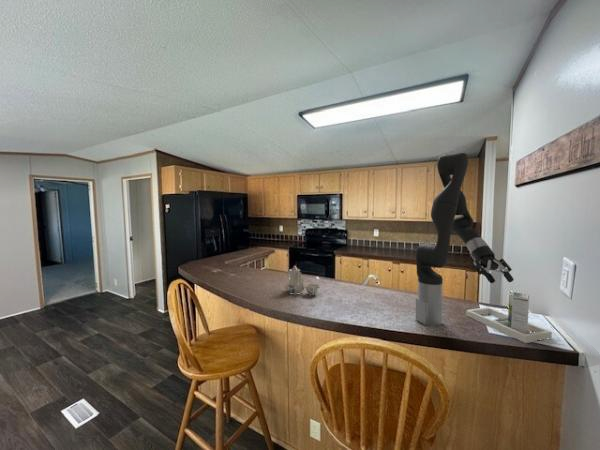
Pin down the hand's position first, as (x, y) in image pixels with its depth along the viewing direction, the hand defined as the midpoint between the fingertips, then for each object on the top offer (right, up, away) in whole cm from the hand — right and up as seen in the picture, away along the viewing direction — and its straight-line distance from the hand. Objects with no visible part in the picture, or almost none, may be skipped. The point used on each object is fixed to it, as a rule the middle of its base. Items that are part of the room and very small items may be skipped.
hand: (502, 281), depth 104 cm
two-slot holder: (0, -18, -1) cm, 18 cm away
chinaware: (-84, -17, +47) cm, 97 cm away
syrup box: (+1, -18, -6) cm, 19 cm away
